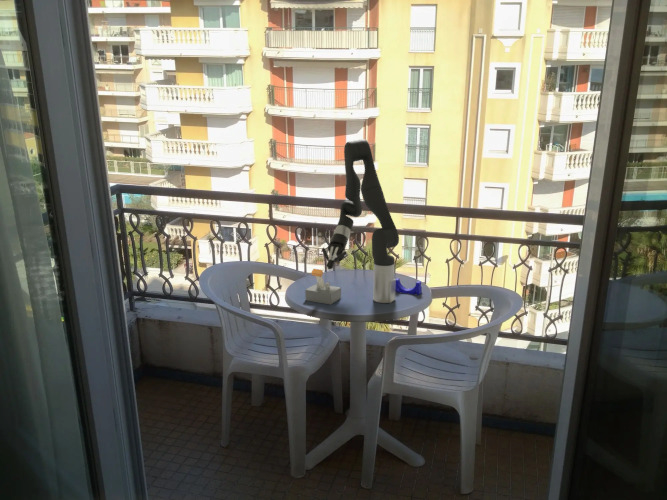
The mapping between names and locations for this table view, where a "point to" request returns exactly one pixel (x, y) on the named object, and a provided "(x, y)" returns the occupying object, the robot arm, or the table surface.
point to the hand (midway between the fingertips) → (329, 268)
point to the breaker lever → (318, 277)
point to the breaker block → (323, 293)
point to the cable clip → (415, 290)
